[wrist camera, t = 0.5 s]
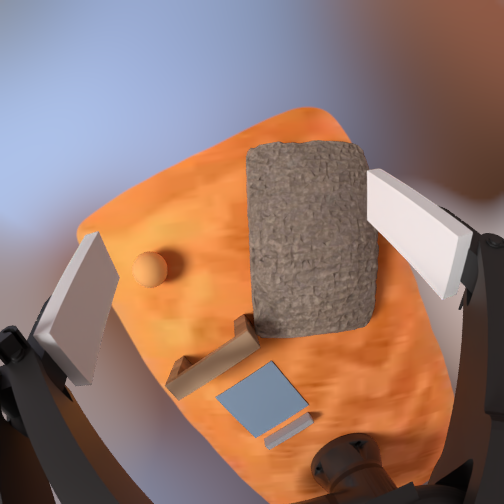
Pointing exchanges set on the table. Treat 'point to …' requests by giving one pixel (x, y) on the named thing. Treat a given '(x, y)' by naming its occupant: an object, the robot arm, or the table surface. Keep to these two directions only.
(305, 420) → the wall
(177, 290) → the table surface
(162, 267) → the ball
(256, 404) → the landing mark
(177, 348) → the table surface
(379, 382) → the table surface
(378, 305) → the table surface
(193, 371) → the bridge
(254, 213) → the stone tablet
